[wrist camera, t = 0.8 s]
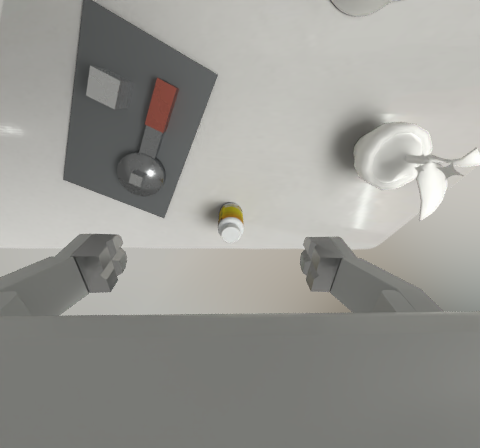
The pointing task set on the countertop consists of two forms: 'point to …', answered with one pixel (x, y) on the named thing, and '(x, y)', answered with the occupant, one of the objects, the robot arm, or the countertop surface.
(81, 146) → the mat
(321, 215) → the countertop surface
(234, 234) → the supplement bottle
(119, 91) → the light grey block
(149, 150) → the ratchet
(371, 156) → the potted plant
